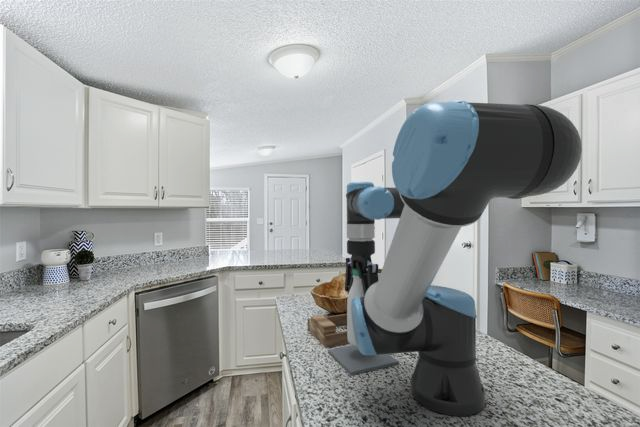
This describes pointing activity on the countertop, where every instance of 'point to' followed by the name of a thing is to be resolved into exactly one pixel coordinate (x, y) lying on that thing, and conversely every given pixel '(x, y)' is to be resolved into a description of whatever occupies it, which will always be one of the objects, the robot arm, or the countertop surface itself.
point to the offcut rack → (328, 329)
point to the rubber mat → (360, 360)
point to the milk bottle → (354, 292)
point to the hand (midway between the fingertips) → (361, 323)
